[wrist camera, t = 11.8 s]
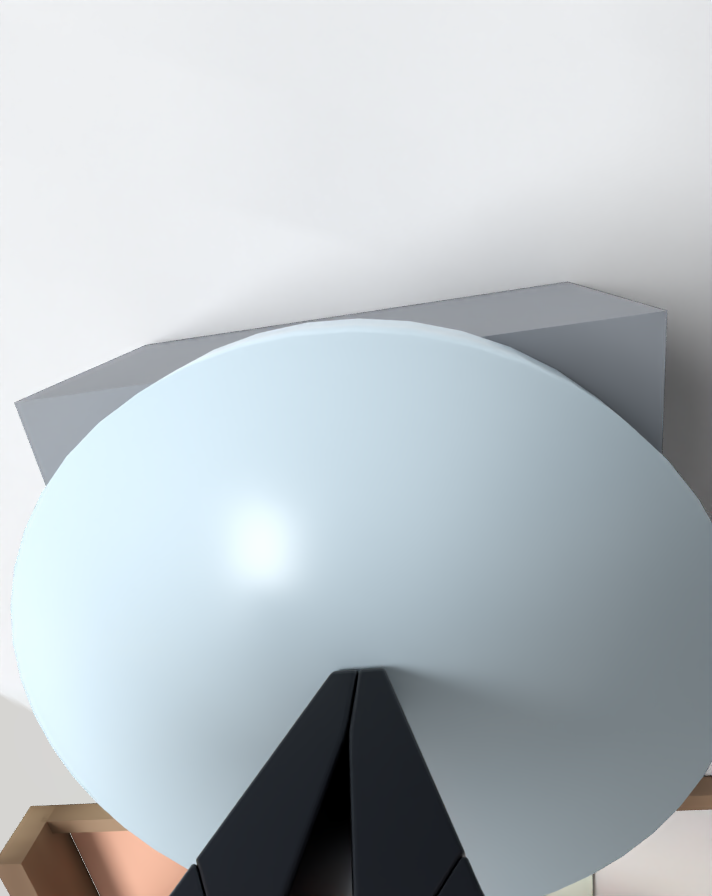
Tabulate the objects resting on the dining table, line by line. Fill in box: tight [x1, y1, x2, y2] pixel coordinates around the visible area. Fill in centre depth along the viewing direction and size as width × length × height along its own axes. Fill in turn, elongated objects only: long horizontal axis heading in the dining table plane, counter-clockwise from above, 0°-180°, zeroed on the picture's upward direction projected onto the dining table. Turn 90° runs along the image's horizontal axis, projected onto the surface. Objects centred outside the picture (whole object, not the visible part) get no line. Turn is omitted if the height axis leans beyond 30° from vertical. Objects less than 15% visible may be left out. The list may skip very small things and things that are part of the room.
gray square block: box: [14, 282, 667, 486], centre depth 12 cm, size 10×10×5 cm
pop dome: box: [11, 318, 712, 896], centre depth 11 cm, size 11×11×5 cm
